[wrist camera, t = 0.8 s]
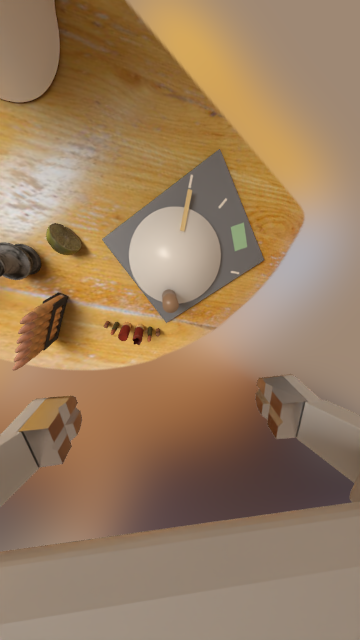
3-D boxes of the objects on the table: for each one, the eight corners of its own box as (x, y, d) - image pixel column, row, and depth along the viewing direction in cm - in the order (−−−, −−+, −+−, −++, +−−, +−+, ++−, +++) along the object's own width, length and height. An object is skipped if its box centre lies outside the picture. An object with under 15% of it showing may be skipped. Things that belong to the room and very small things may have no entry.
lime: (56, 222, 31) (39, 219, 26) (86, 232, 32) (74, 231, 27) (55, 248, 32) (38, 250, 28) (83, 257, 33) (71, 260, 29)
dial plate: (103, 239, 32) (101, 239, 31) (217, 152, 29) (220, 148, 28) (166, 320, 40) (166, 322, 39) (261, 259, 37) (264, 260, 36)
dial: (205, 308, 39) (214, 320, 33) (125, 294, 36) (118, 305, 30) (235, 205, 31) (253, 197, 25) (137, 176, 28) (131, 159, 22)
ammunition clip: (58, 292, 35) (13, 315, 25) (68, 295, 36) (28, 320, 25) (48, 335, 39) (5, 372, 28) (57, 338, 39) (19, 376, 29)
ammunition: (105, 326, 40) (96, 341, 34) (106, 317, 39) (96, 331, 33) (159, 333, 42) (159, 349, 36) (160, 325, 41) (161, 339, 35)
